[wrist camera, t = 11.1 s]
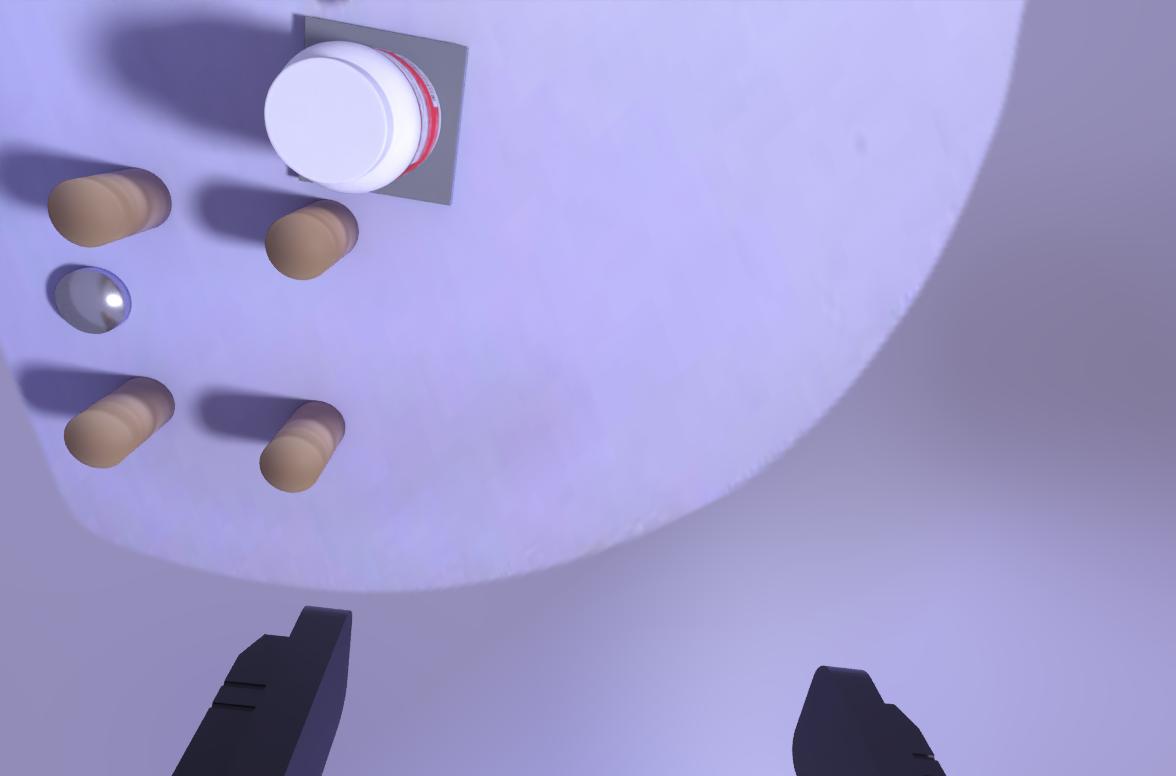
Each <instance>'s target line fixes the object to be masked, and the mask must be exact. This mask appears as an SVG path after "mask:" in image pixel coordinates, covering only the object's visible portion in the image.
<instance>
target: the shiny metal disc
mask: <svg viewBox="0 0 1176 776" xmlns="http://www.w3.org/2000/svg"><path fill="white" fill-rule="evenodd" d="M55 303H56V306H57V309H58V311H59V312H60V314H61V315H62V317H63V318H64V319H65V320H66V321H67V322H68V323H69V324H70V325H72V326H73V327H75V328H76V329H78V330H80V331H83V332H86V333H92V334H100V333H105V332H108V331H110V330H112V329H114V328H116V327H117V326H119V325H121V324H122V323H123V322H125V321H126V319H127V318H128V316H129V314H130V312H131V306H132V302H131V296H130V293H129V291H128V289H127V287H126V286H125V284H124V283H123V282H122V281H121V280H120V279H119V278H118V277H117V276H116V275H115V274H113V273H111V272H110V271H108V270H105V269H102V268H98V267H84V268H81V269H78V270H75V271H73V272H70V273H68V274H66V275H65V276H63V277H62V278H61V279H60V280H59V282H58V283H57V285H56V288H55Z"/></svg>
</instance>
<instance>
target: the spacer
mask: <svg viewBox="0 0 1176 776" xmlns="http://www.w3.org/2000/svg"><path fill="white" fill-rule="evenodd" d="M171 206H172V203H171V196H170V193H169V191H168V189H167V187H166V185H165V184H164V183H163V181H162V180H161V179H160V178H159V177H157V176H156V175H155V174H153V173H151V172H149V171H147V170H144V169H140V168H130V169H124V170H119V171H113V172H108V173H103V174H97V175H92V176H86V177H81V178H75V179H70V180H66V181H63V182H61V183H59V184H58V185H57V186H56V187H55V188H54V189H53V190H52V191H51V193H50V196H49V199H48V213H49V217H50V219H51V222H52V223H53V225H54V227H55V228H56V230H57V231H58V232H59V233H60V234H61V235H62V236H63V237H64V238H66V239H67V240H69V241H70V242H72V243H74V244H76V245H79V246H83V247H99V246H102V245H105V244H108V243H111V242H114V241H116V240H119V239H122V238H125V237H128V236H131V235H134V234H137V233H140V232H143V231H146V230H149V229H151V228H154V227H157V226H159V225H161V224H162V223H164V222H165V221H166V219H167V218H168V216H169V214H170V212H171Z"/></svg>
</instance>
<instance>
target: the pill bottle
mask: <svg viewBox="0 0 1176 776" xmlns="http://www.w3.org/2000/svg"><path fill="white" fill-rule="evenodd" d="M264 119H265V126H266V130H267V134H268V137H269V139H270V142H271V144H272V146H273V148H274V149H275V151H276V152H277V154H278V155H279V157H280V158H281V159H282V160H283V161H284V162H285V163H286V164H287V165H288V166H289V167H290V168H291V169H292V170H294V171H295V172H296V173H298V174H300V175H301V176H303V177H305V178H307V179H309V180H310V181H312V182H314V183H316V184H318V185H320V186H322V187H324V188H327V189H329V190H333V191H336V192H341V193H365V192H370V191H373V190H377V189H379V188H382V187H385V186H386V185H388V184H389V183H391V182H393V181H394V180H396V179H398V178H400V177H401V176H403V175H405V174H406V173H408V172H410V171H411V170H413V169H414V168H416V167H417V166H419V165H420V164H421V163H422V162H423V161H424V160H425V159H426V158H427V157H428V156H429V154H430V153H431V152H432V150H433V148H434V146H435V144H436V142H437V140H438V137H439V133H440V127H441V110H440V104H439V100H438V97H437V94H436V92H435V90H434V87H433V86H432V84H431V82H430V81H429V79H428V78H427V76H426V75H425V74H424V73H423V72H422V71H421V69H419V68H418V67H417V66H416V65H415V64H414V63H412V62H411V61H410V60H408V59H407V58H405V57H403V56H401V55H399V54H397V53H394V52H391V51H387V50H383V49H378V48H373V47H369V46H365V45H362V44H358V43H353V42H348V41H328V42H322V43H319V44H315V45H313V46H310V47H308V48H306V49H304V50H302V51H301V52H300V53H298V54H297V55H295V56H294V57H293V58H292V59H291V60H290V61H289V62H288V63H287V64H286V65H285V67H284V68H283V70H282V71H281V73H280V74H279V75H278V76H277V77H276V78H275V80H274V81H273V83H272V85H271V87H270V89H269V91H268V94H267V97H266V100H265V107H264Z"/></svg>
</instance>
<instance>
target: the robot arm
mask: <svg viewBox="0 0 1176 776" xmlns="http://www.w3.org/2000/svg"><path fill="white" fill-rule="evenodd" d="M351 626H352V612H351V611H349V610H340V609H331V608H322V607H312V606H305V607H304V608H303V610H302V612H301V614H300V616H299V618H298V620H297V622H296V624H295V626H294V628H293V630H292V632H291V634H290V637H285V636H275V635H266V634H264V635H263V636H262V637H261V638H260V639H258V640H257V641H256V642H254V643H253V644H252V645H251V646H250V647H248V648H247V649H246V650H245V651H243V652H242V653H241V654H240V655H239V656H238V657H237V659H236V661H235V663H234V665H233V666H232V669H231V670H230V672H229V674H228V676H227V677H226V679H225V681H224V685H223V686H221V688H220V690H219V692H218V694H217V695H216V697H215V699H214V701H213V704H212V707H211V708H209V710H208V711H207V713H206V715H205V717H204V719H203V720H202V722H201V724H200V726H199V728H198V730H197V731H196V733H195V735H194V737H193V738H192V740H191V742H190V744H189V746H188V747H187V749H186V751H185V753H184V755H183V756H182V758H181V760H180V762H179V764H178V766H177V767H176V769H175V771H174V773H173V774H172V776H322V773H323V770H324V767H325V764H326V761H327V758H328V755H329V752H330V749H331V746H332V743H333V740H334V737H335V734H336V731H337V728H338V725H339V722H340V718H341V714H342V710H343V705H344V700H345V695H346V688H347V677H348V665H349V652H350V640H351ZM792 752H793V753H792V754H793V763H794V768H795V772H796V775H797V776H946V775H945V773H944V771H943V769H942V768H941V766H940V764H939V762H938V761H936V760H935V759H934V754H933V752H932V750H931V749H930V747H929V745H928V744H927V742H926V740H925V738H924V736H923V735H922V733H921V732H920V730H919V728H918V727H917V726H916V725H915V724H914V723H913V722H912V721H911V720H910V719H909V718H908V717H907V716H906V715H905V714H904V713H903V712H902V711H901V710H900V709H898V708H897V707H896V706H895V705H894V704H885V703H884V701H883V699H882V698H881V696H880V694H879V692H878V690H877V689H876V687H875V685H874V683H873V681H872V679H871V678H870V676H869V674H867V672H865V671H863V670H856V669H847V668H839V667H830V666H820V667H819V668H818V669H817V670H816V672H815V674H814V677H813V680H812V683H811V685H810V688H809V691H808V694H807V697H806V700H805V703H804V706H803V709H802V712H801V715H800V717H799V720H798V723H797V726H796V729H795V733H794V737H793V746H792Z"/></svg>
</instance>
